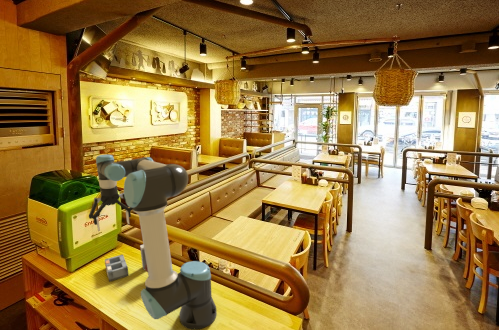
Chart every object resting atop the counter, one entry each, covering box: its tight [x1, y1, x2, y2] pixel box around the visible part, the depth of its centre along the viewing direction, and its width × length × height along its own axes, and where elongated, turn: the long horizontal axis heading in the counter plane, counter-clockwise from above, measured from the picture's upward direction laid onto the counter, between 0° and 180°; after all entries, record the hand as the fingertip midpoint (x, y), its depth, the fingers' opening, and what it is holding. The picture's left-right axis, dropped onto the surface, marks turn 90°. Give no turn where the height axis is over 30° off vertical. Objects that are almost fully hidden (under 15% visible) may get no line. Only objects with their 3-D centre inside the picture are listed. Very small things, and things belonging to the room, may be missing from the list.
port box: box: [104, 254, 130, 283], centre depth 148 cm, size 14×9×5 cm, turn 33°
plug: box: [139, 244, 147, 271], centre depth 151 cm, size 4×4×13 cm
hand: (113, 226), depth 143 cm, fingers open, 13 cm apart
